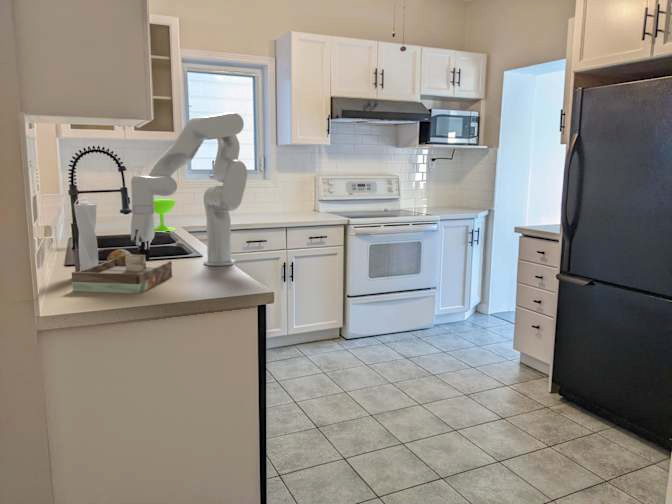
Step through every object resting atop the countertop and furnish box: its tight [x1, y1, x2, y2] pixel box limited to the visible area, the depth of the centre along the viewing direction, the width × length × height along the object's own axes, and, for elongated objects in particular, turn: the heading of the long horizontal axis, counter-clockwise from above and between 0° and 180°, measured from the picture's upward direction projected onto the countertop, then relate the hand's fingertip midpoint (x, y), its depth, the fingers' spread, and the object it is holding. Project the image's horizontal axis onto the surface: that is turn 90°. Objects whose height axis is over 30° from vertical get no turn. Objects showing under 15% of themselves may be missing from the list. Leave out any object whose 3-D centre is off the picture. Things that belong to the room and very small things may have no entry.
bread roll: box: [106, 248, 132, 267], centre depth 212 cm, size 10×10×8 cm
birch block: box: [125, 254, 147, 271], centre depth 187 cm, size 5×5×5 cm
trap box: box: [71, 259, 173, 294], centre depth 180 cm, size 26×22×6 cm
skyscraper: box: [73, 196, 99, 272], centre depth 191 cm, size 8×8×28 cm
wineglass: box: [154, 198, 176, 231], centre depth 312 cm, size 16×16×18 cm
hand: (144, 259), depth 195 cm, fingers closed
